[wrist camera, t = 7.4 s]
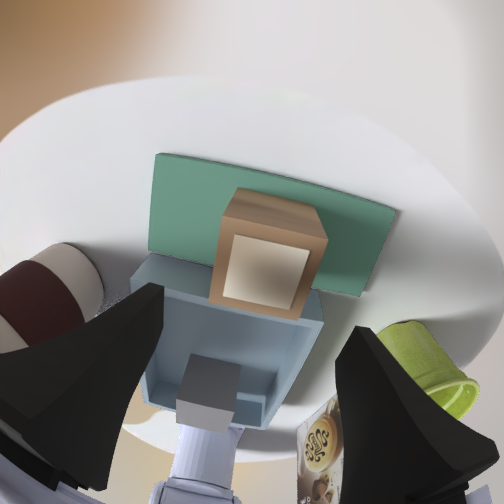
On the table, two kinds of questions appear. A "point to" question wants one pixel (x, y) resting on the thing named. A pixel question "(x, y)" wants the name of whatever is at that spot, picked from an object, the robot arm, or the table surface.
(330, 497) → the coffee box
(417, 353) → the plant pot
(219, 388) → the plain block
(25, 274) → the coffee cup
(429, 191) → the table surface
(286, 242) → the labelled block
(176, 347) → the bin
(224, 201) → the mat
